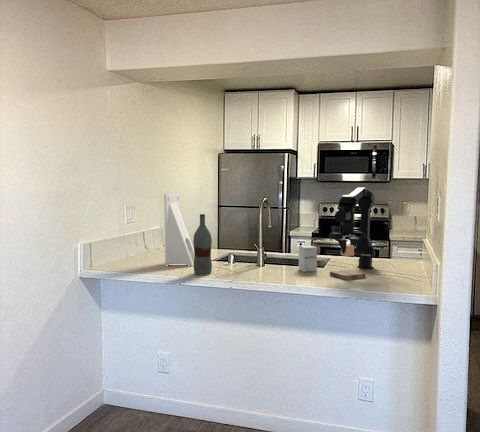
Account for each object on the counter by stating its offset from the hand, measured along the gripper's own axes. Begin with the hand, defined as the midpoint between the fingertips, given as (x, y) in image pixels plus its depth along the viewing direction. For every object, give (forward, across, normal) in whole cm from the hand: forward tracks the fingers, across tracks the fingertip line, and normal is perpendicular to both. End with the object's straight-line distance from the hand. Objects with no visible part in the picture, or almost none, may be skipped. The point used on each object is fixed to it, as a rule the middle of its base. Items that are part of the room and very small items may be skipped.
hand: (347, 253), depth 226 cm
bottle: (+12, +61, -38) cm, 72 cm away
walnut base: (+11, 0, +1) cm, 11 cm away
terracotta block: (+1, 0, 0) cm, 1 cm away
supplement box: (+12, +8, -21) cm, 26 cm away
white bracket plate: (+12, +60, -68) cm, 91 cm away
